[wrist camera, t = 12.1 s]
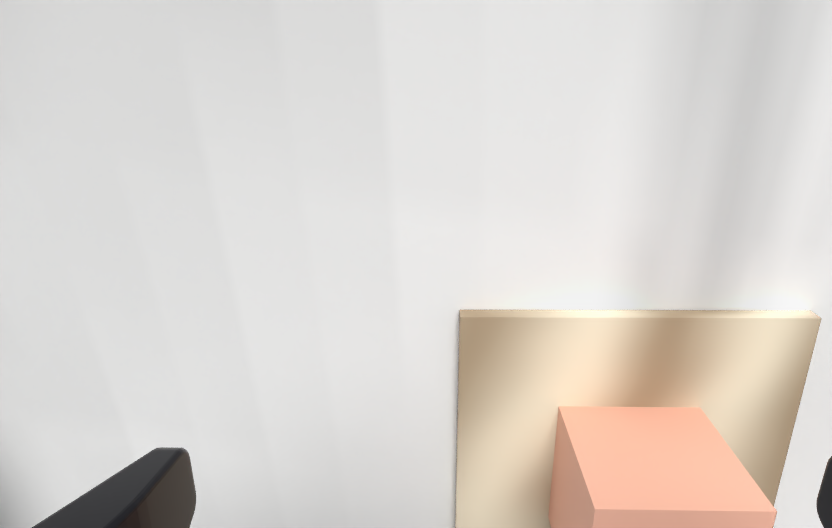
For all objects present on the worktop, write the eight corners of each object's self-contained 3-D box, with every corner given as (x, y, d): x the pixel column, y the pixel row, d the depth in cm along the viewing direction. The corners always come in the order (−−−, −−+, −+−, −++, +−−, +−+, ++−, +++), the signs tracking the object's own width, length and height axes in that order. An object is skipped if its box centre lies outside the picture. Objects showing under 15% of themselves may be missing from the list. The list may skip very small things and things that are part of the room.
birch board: (810, 310, 20) (821, 318, 20) (745, 575, 25) (752, 587, 24) (459, 309, 21) (460, 317, 20) (454, 571, 25) (454, 583, 24)
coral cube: (700, 407, 21) (777, 511, 16) (679, 518, 23) (743, 640, 18) (558, 406, 21) (595, 508, 17) (548, 516, 23) (578, 638, 18)
